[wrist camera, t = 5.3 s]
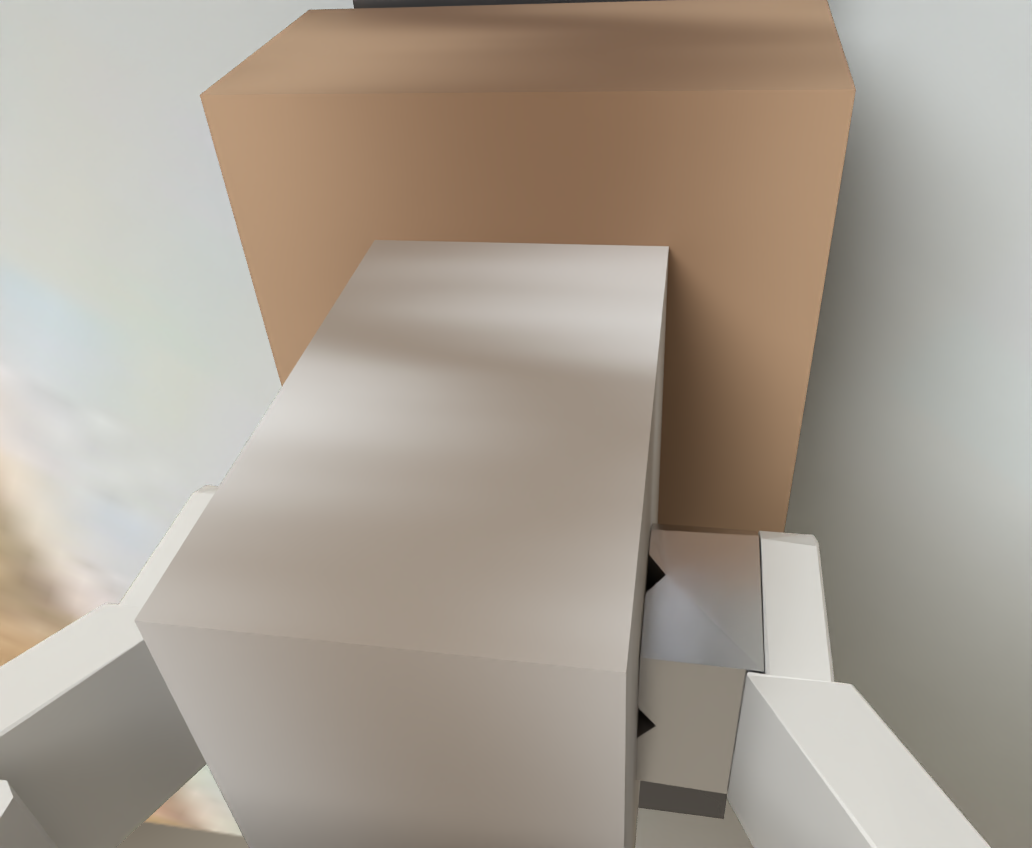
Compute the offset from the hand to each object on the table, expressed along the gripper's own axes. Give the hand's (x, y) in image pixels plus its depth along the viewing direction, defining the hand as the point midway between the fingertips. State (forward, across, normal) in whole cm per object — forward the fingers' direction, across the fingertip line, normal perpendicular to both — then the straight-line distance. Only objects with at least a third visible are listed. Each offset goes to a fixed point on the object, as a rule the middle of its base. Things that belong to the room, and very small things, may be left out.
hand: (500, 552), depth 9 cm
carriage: (+5, 0, 0) cm, 5 cm away
